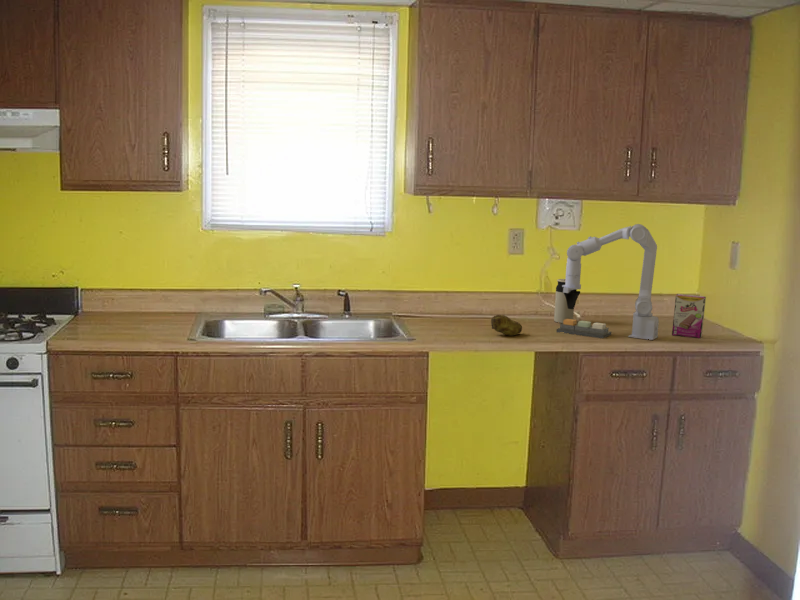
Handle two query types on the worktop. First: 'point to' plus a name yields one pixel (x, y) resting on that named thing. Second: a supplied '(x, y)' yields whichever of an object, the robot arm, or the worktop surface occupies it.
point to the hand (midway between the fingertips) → (570, 308)
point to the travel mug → (561, 304)
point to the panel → (584, 331)
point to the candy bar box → (688, 315)
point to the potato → (505, 325)
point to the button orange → (570, 322)
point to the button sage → (584, 323)
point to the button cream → (599, 326)
